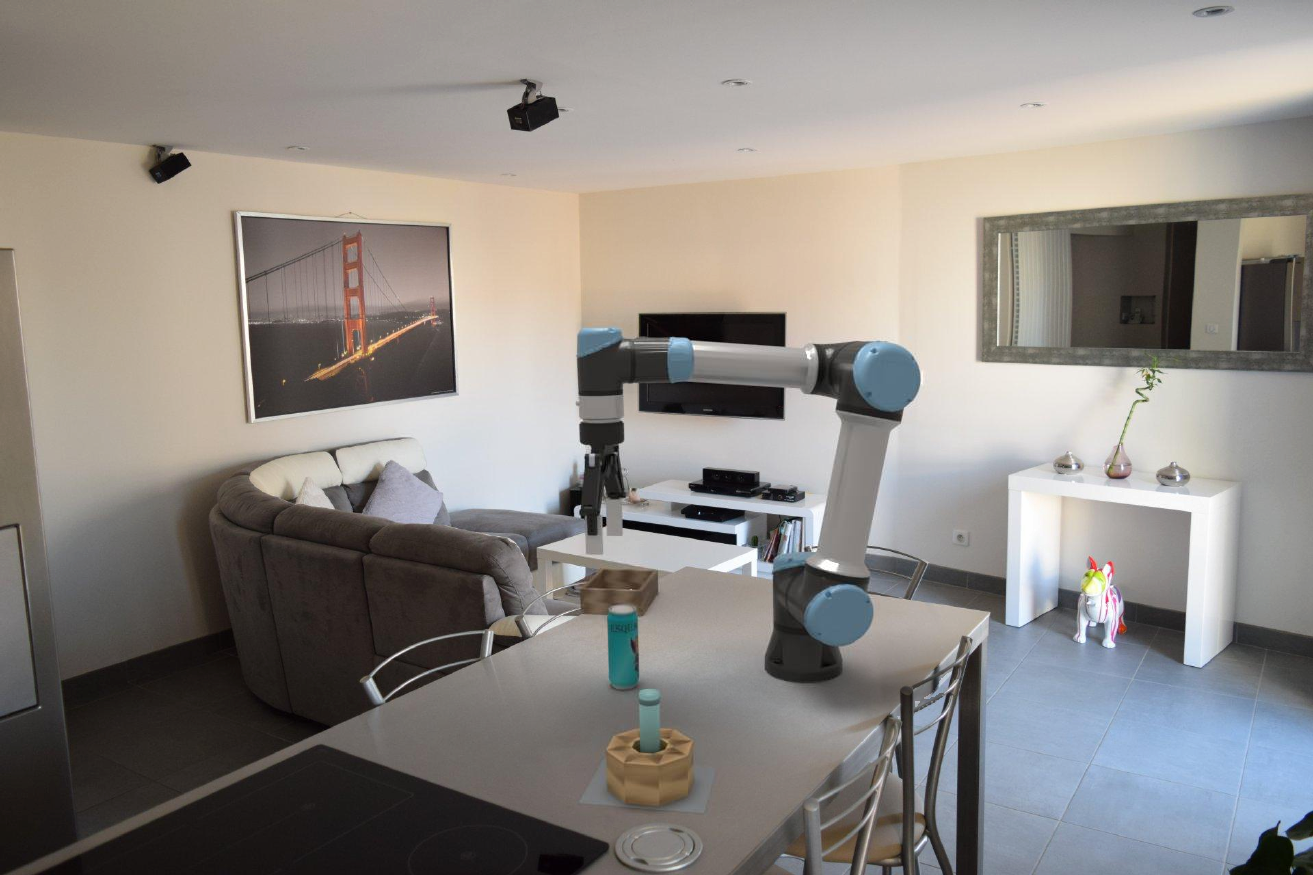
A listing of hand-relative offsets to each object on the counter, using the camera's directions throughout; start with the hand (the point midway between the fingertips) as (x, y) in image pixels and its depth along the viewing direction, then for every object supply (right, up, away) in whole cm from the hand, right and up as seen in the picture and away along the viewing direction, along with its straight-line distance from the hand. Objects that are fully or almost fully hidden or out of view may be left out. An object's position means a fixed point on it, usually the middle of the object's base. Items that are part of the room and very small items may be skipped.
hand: (605, 544), depth 159 cm
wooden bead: (+8, -33, -21) cm, 40 cm away
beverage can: (+3, -29, +18) cm, 34 cm away
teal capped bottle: (+8, -33, -21) cm, 40 cm away
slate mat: (+8, -33, -21) cm, 40 cm away
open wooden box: (0, -23, +71) cm, 74 cm away
